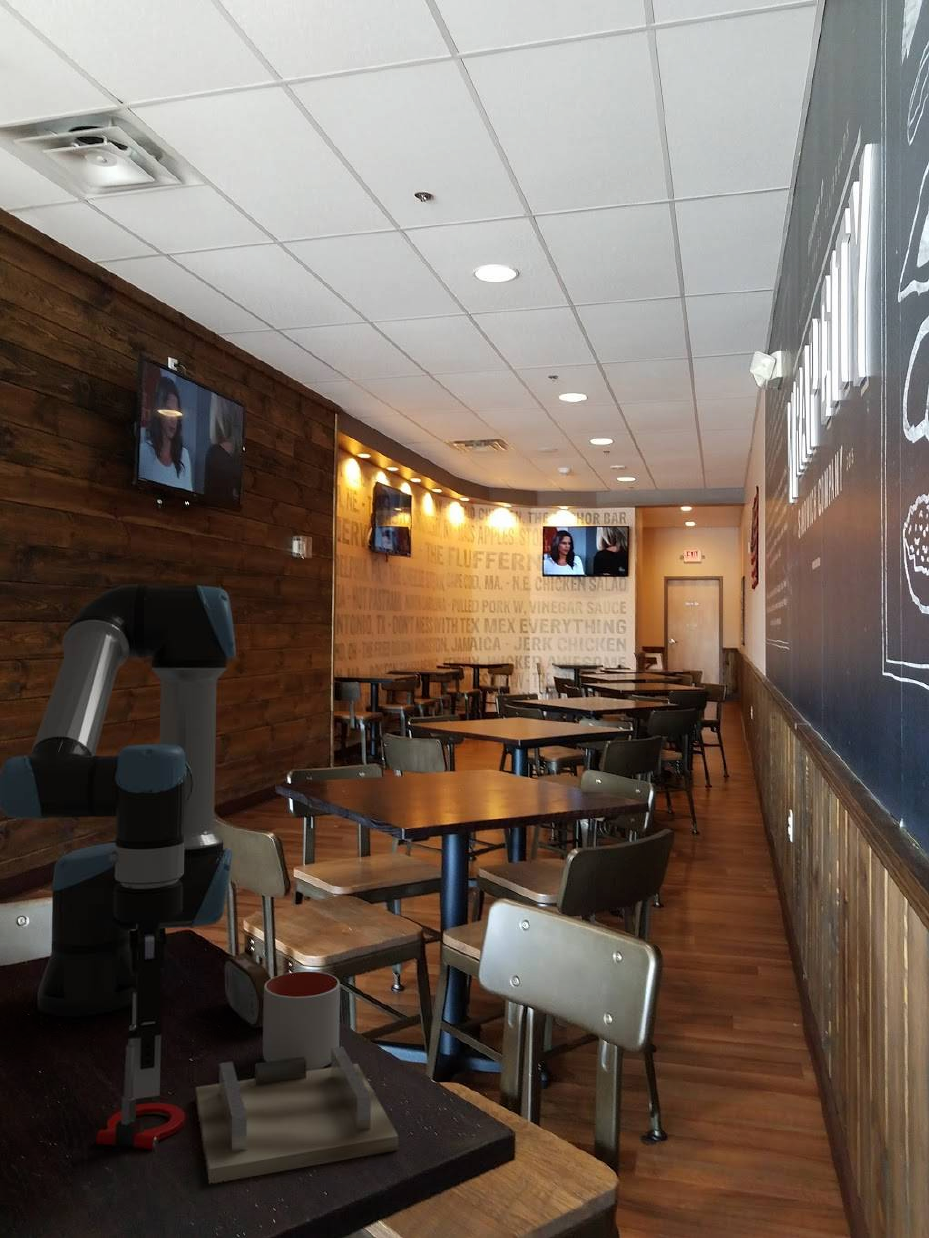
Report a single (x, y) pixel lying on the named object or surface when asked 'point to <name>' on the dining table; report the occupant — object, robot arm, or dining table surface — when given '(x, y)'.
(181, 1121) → the tow hook
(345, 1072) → the keeper rails
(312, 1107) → the keeper board
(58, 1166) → the dining table surface
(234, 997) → the tin
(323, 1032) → the cup
